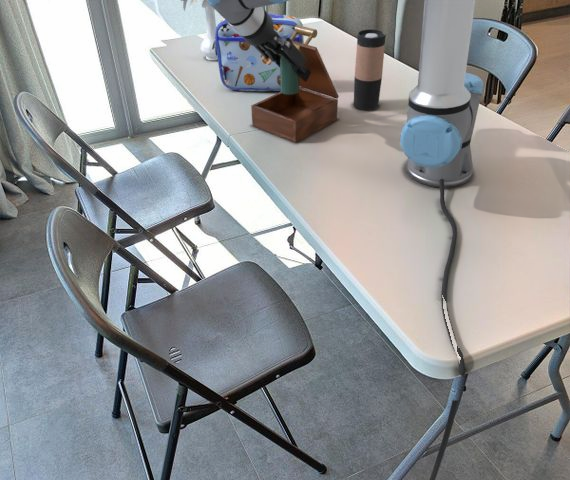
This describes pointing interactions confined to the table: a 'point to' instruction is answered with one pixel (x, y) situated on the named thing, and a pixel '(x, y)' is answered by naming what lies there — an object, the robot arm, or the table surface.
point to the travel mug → (368, 69)
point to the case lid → (313, 64)
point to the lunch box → (250, 57)
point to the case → (294, 114)
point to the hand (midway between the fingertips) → (299, 74)
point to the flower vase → (211, 28)
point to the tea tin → (288, 77)
